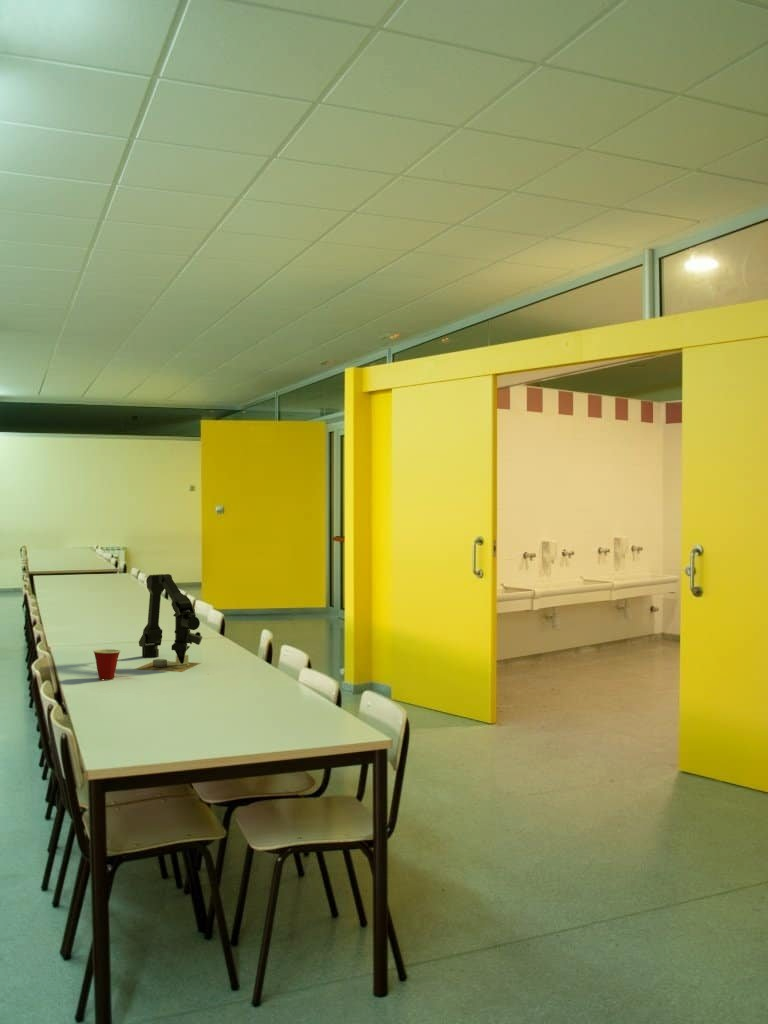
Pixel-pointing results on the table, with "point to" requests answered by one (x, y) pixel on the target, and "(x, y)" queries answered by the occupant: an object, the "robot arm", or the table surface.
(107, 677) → the plastic cup
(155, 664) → the peg lever
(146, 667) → the brown flat wooden board
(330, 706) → the table surface
